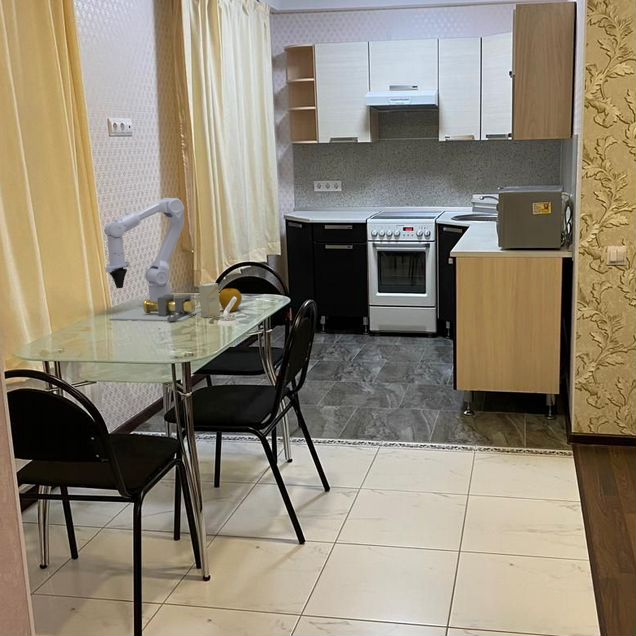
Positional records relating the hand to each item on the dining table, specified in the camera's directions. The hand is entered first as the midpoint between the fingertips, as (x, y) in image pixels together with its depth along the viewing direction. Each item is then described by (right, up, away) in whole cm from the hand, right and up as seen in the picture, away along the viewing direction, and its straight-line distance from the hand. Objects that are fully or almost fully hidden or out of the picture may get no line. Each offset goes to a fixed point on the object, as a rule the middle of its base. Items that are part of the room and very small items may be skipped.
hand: (119, 288), depth 321 cm
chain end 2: (+26, -11, -13) cm, 31 cm away
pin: (+21, -10, -9) cm, 25 cm away
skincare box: (+37, -11, -12) cm, 40 cm away
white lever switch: (+45, -14, -27) cm, 54 cm away
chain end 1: (+21, -9, -5) cm, 23 cm away
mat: (+16, -11, -7) cm, 20 cm away
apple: (+44, -9, -4) cm, 45 cm away
